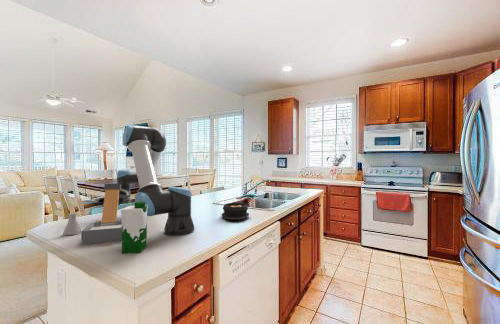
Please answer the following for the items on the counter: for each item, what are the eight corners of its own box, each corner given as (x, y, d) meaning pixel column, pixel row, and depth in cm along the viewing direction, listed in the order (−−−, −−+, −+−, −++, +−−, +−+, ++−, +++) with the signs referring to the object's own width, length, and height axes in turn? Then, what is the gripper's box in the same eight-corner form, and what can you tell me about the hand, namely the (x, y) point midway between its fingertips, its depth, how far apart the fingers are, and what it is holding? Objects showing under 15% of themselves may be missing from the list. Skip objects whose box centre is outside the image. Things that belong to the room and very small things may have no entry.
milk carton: (141, 254, 90) (141, 204, 90) (117, 254, 90) (118, 204, 90) (149, 245, 99) (149, 200, 99) (127, 246, 98) (128, 200, 98)
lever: (101, 224, 110) (105, 185, 118) (117, 222, 112) (121, 185, 121) (99, 222, 108) (104, 183, 116) (116, 221, 110) (120, 183, 119)
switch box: (91, 234, 113) (91, 218, 113) (131, 231, 119) (131, 215, 119) (81, 244, 100) (81, 226, 100) (127, 239, 106) (127, 222, 106)
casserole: (250, 222, 138) (250, 208, 138) (220, 222, 137) (220, 208, 137) (248, 212, 163) (248, 201, 163) (222, 213, 162) (222, 201, 162)
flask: (71, 236, 110) (71, 216, 110) (59, 235, 112) (59, 215, 112) (84, 231, 117) (84, 212, 117) (73, 230, 119) (73, 212, 119)
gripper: (132, 201, 144) (126, 208, 121) (108, 202, 139) (97, 210, 117) (132, 189, 143) (126, 194, 121) (108, 190, 139) (97, 196, 117)
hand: (112, 202), depth 119 cm, fingers closed
